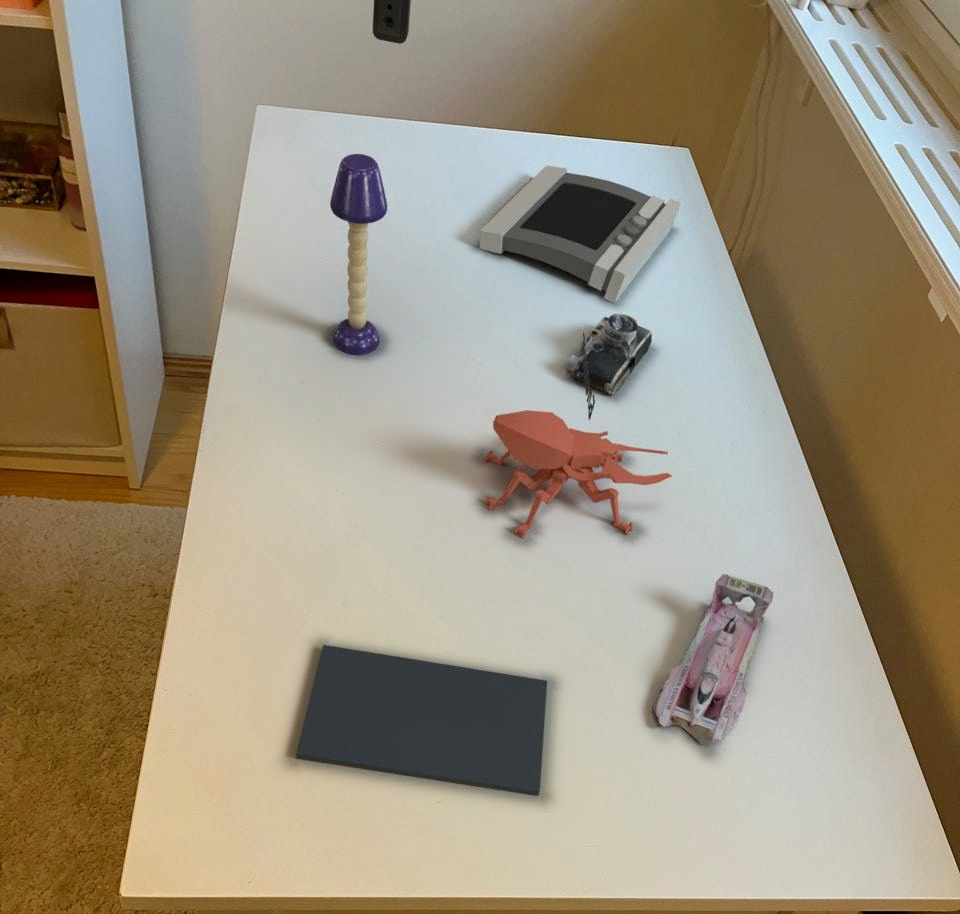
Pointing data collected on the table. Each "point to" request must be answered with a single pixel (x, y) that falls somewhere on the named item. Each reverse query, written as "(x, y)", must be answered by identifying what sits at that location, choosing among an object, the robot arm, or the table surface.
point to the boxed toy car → (715, 664)
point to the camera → (612, 352)
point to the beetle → (563, 457)
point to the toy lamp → (358, 245)
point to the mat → (426, 720)
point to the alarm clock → (582, 227)
